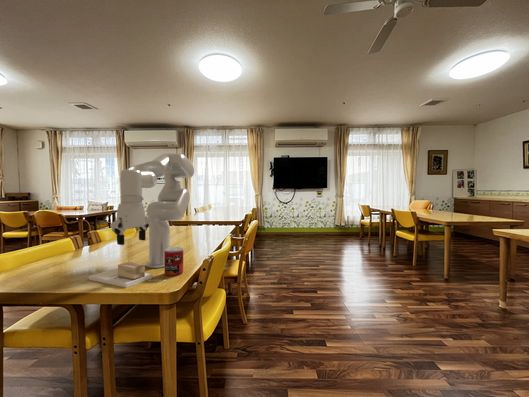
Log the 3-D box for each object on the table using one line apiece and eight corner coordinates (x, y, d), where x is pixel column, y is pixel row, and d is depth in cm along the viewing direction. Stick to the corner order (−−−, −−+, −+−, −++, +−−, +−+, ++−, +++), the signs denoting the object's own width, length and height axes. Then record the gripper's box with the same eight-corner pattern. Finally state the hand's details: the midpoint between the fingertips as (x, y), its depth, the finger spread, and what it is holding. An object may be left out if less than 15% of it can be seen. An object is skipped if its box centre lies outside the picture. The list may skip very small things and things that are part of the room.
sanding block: (129, 273, 102) (129, 261, 102) (144, 276, 99) (144, 264, 99) (118, 277, 98) (118, 264, 98) (133, 280, 94) (133, 267, 94)
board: (116, 271, 110) (116, 268, 110) (152, 277, 102) (152, 274, 102) (88, 279, 99) (88, 275, 99) (126, 287, 91) (126, 283, 91)
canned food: (160, 276, 104) (161, 250, 104) (170, 270, 112) (170, 246, 112) (177, 277, 103) (177, 251, 103) (186, 271, 111) (186, 247, 111)
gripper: (143, 199, 107) (143, 238, 108) (104, 200, 91) (104, 245, 92) (155, 199, 104) (156, 239, 105) (117, 201, 89) (118, 247, 89)
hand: (132, 242), depth 98 cm, fingers open, 9 cm apart
